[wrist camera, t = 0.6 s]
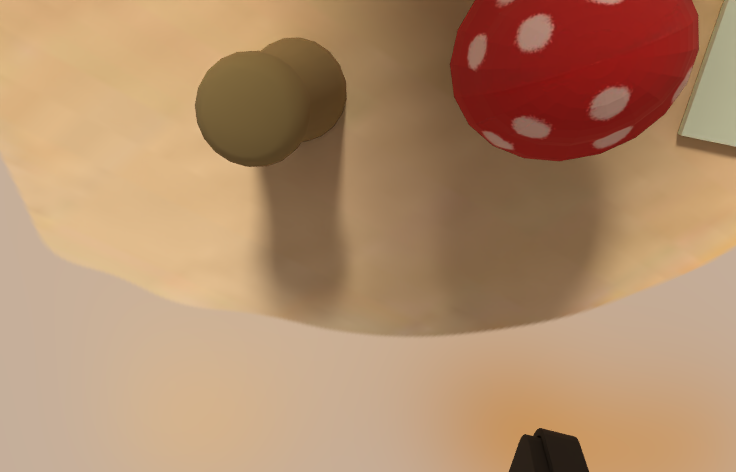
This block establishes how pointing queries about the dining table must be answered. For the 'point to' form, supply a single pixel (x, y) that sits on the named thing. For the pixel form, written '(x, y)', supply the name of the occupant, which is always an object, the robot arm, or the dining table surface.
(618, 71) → the decorative mushroom
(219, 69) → the cork
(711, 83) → the mat
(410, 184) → the dining table surface
